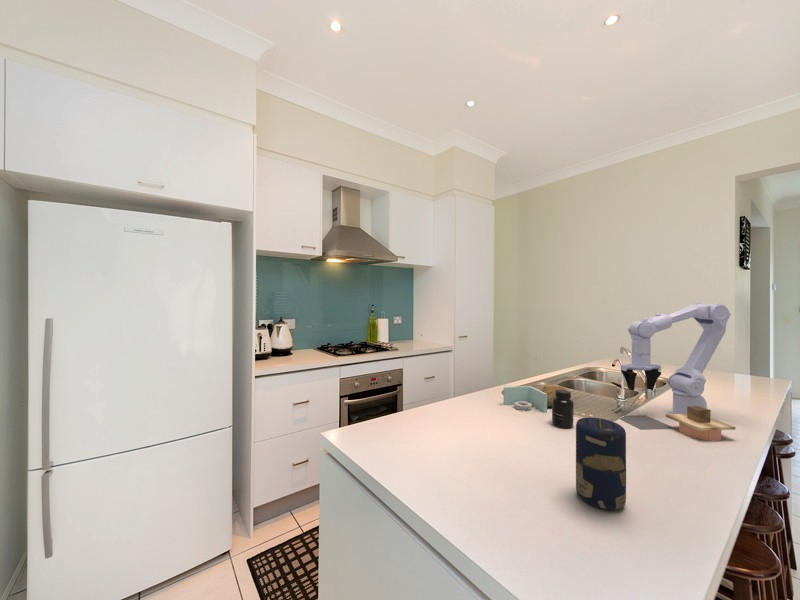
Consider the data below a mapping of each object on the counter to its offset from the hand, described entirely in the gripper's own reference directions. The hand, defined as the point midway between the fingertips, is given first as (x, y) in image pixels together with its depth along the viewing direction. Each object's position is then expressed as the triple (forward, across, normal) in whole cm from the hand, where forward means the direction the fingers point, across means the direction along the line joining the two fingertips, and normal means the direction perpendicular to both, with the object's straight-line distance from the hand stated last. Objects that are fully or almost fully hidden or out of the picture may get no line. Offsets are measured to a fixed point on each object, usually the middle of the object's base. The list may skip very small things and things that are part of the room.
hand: (640, 389), depth 124 cm
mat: (+10, -4, -6) cm, 13 cm away
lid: (+6, +6, -17) cm, 19 cm away
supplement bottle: (+11, -34, -6) cm, 36 cm away
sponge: (+11, -24, +19) cm, 33 cm away
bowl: (+10, +6, -17) cm, 21 cm away
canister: (+11, -50, -48) cm, 70 cm away
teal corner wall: (+11, -40, +12) cm, 43 cm away
